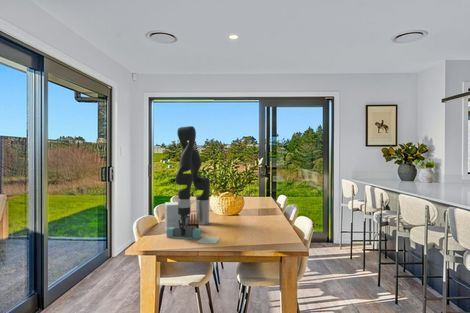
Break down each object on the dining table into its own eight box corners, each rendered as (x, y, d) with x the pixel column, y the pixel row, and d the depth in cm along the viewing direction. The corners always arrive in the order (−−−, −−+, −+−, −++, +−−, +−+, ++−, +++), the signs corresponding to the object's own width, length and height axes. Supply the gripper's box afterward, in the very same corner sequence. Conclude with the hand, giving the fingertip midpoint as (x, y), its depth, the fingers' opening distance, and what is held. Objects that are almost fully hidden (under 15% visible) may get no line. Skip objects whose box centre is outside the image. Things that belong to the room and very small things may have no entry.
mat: (202, 237, 196) (202, 236, 196) (220, 238, 194) (220, 237, 194) (197, 243, 184) (197, 242, 184) (216, 244, 182) (216, 243, 182)
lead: (176, 236, 200) (176, 226, 200) (193, 236, 199) (193, 227, 199) (174, 237, 196) (174, 227, 196) (191, 238, 195) (192, 228, 195)
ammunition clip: (182, 232, 210) (182, 213, 210) (182, 231, 212) (182, 213, 212) (198, 231, 211) (198, 213, 211) (198, 231, 213) (198, 212, 213)
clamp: (170, 234, 203) (170, 226, 203) (201, 236, 200) (201, 228, 200) (165, 237, 195) (165, 229, 195) (198, 239, 192) (198, 230, 192)
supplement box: (183, 226, 226) (183, 201, 226) (186, 230, 214) (187, 204, 214) (164, 227, 222) (164, 202, 222) (166, 232, 210) (166, 205, 210)
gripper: (181, 204, 205) (181, 231, 205) (174, 208, 191) (174, 237, 191) (193, 204, 204) (193, 231, 204) (186, 208, 190) (186, 237, 190)
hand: (184, 234), depth 198 cm, fingers open, 4 cm apart
